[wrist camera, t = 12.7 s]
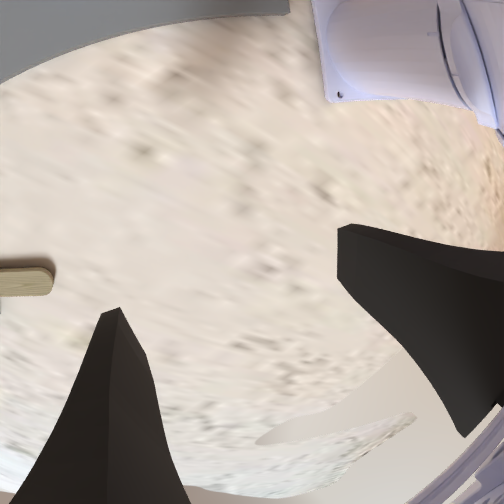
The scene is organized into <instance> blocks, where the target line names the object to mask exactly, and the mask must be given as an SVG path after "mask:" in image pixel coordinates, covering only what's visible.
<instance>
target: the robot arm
mask: <svg viewBox="0 0 504 504" xmlns="http://www.w3.org/2000/svg"><path fill="white" fill-rule="evenodd" d="M311 3H312V9H313V14H314V20H315V26H316V32H317V39H318V45H319V52H320V59H321V67H322V75H323V83H324V92H325V98H326V99H327V101H329V102H334V103H335V102H347V101H362V100H384V99H413V100H420V101H426V102H432V103H437V104H443V105H448V106H453V107H457V108H462V109H466V110H471V111H474V113H475V115H476V118H477V121H478V124H480V125H484V126H487V127H490V128H494V129H495V132H496V136H497V138H498V140H499V142H500V143H501V144H502V146H503V147H504V0H311ZM338 92H339V93H340V96H339V98H338V96H337V93H338ZM337 279H338V280H339V281H340V282H341V284H342V285H343V286H344V288H345V289H346V290H347V291H348V293H349V294H350V295H351V296H352V297H353V299H354V300H355V301H356V302H357V303H358V304H359V305H361V306H362V307H363V308H364V309H365V310H366V311H367V312H368V313H369V314H370V315H371V316H372V317H373V318H374V319H375V320H376V321H377V322H379V323H380V324H381V325H382V326H383V327H384V328H385V329H386V330H387V331H388V332H389V333H390V334H391V335H392V336H393V337H394V338H395V339H396V340H397V341H398V342H399V343H400V344H401V345H402V346H403V347H404V348H405V350H406V351H407V352H408V353H409V355H410V356H411V357H412V358H413V359H414V361H415V362H416V363H417V365H418V366H419V367H420V368H421V370H422V371H423V373H424V374H425V376H426V377H427V378H428V380H429V381H430V383H431V384H432V386H433V387H434V389H435V390H436V392H437V394H438V395H439V397H440V399H441V400H442V402H443V404H444V405H445V407H446V409H447V411H448V413H449V415H450V417H451V419H452V420H453V423H454V425H455V427H456V429H457V431H458V432H459V433H460V434H461V435H462V436H463V437H464V438H465V437H467V435H468V434H469V433H471V431H472V430H473V429H474V428H475V427H476V426H477V425H478V424H479V423H480V422H481V421H482V420H483V419H484V418H485V417H486V415H487V414H488V413H489V412H490V411H491V410H492V409H493V407H494V406H495V405H496V404H497V403H498V404H499V405H500V406H501V407H502V409H501V410H500V411H499V413H498V414H497V415H496V416H495V418H494V419H493V420H492V421H491V422H490V424H489V425H488V426H487V427H486V428H485V429H484V431H483V432H482V433H481V434H480V435H479V436H478V437H477V438H476V440H475V441H474V442H473V443H472V444H471V445H470V446H469V447H468V448H467V449H466V450H465V451H464V453H462V454H461V455H460V457H458V458H457V459H456V460H455V461H454V462H453V463H452V464H451V465H450V466H449V467H448V468H447V469H446V470H445V471H444V472H442V473H441V475H439V476H438V477H437V478H436V479H435V480H434V481H432V482H431V483H430V484H429V485H428V486H426V487H425V488H424V489H423V490H422V491H420V492H419V493H418V494H417V495H415V496H414V497H413V498H412V499H410V500H409V501H408V502H406V503H405V504H442V503H443V502H444V501H445V500H446V499H447V498H449V497H450V496H451V495H452V494H453V493H454V492H455V491H456V490H457V489H458V488H459V487H460V486H461V485H462V484H463V483H464V482H465V481H466V480H467V479H468V478H469V477H470V476H471V475H472V474H473V473H474V472H475V471H476V470H477V469H478V468H479V469H478V470H477V472H476V474H475V478H476V479H477V480H476V481H475V482H474V483H473V484H472V485H471V486H470V487H468V488H467V490H465V491H464V492H463V493H462V494H461V495H460V496H459V497H458V498H456V499H455V500H454V501H453V502H452V503H451V504H504V442H502V443H501V444H500V445H499V446H498V447H497V445H498V444H499V443H500V442H501V440H502V439H503V438H504V252H499V251H486V250H476V249H469V248H462V247H456V246H450V245H445V244H440V243H436V242H431V241H427V240H423V239H419V238H414V237H410V236H407V235H403V234H399V233H395V232H391V231H387V230H383V229H378V228H374V227H370V226H365V225H359V224H349V225H346V226H344V227H341V228H338V253H337ZM496 447H497V448H496ZM495 448H496V449H495ZM494 449H495V450H494ZM493 450H494V451H493ZM480 465H481V466H480ZM479 466H480V467H479ZM9 504H191V503H190V501H189V498H188V496H187V494H186V492H185V490H184V488H183V485H182V483H181V481H180V478H179V476H178V473H177V471H176V468H175V466H174V463H173V461H172V458H171V455H170V452H169V448H168V445H167V441H166V437H165V433H164V428H163V424H162V419H161V414H160V410H159V405H158V400H157V395H156V390H155V385H154V381H153V377H152V374H151V370H150V367H149V364H148V360H147V357H146V354H145V352H144V350H143V349H142V347H141V345H140V343H139V342H138V340H137V338H136V336H135V334H134V333H133V331H132V329H131V327H130V325H129V323H128V322H127V320H126V318H125V316H124V314H123V312H122V310H121V308H120V307H119V308H116V309H113V310H110V311H107V312H104V313H102V314H101V316H100V318H99V320H98V323H97V325H96V328H95V330H94V333H93V336H92V338H91V341H90V343H89V346H88V349H87V351H86V354H85V357H84V359H83V362H82V364H81V367H80V370H79V372H78V375H77V377H76V380H75V382H74V384H73V387H72V389H71V392H70V394H69V397H68V399H67V401H66V404H65V406H64V408H63V410H62V412H61V415H60V417H59V419H58V421H57V423H56V425H55V427H54V429H53V431H52V433H51V435H50V437H49V439H48V441H47V442H46V444H45V446H44V448H43V450H42V451H41V453H40V455H39V457H38V459H37V461H36V462H35V464H34V466H33V468H32V469H31V471H30V472H29V474H28V476H27V477H26V479H25V481H24V482H23V484H22V485H21V487H20V488H19V490H18V491H17V493H16V494H15V496H14V497H13V499H12V500H11V502H10V503H9Z"/></svg>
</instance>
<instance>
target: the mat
mask: <svg viewBox="0 0 504 504" xmlns="http://www.w3.org/2000/svg"><path fill="white" fill-rule="evenodd" d="M288 13H290V8H289V2H288V0H0V84H1V83H3V82H5V81H7V80H8V79H10V78H12V77H14V76H16V75H18V74H20V73H22V72H24V71H26V70H28V69H30V68H33V67H35V66H37V65H39V64H41V63H44V62H46V61H48V60H51V59H53V58H55V57H58V56H60V55H63V54H65V53H68V52H71V51H73V50H76V49H79V48H82V47H85V46H88V45H91V44H94V43H97V42H100V41H103V40H106V39H110V38H113V37H117V36H120V35H124V34H128V33H132V32H136V31H140V30H145V29H149V28H154V27H159V26H164V25H169V24H175V23H181V22H188V21H195V20H203V19H212V18H222V17H236V16H258V15H286V14H288Z"/></svg>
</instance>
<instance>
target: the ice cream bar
mask: <svg viewBox="0 0 504 504" xmlns="http://www.w3.org/2000/svg"><path fill="white" fill-rule="evenodd" d="M53 284H54V279H53V276H52V274H51V273H50V272H49V271H48V270H47V269H45V268H41V267H33V268H9V269H0V297H11V296H43V295H47V294H49V293H50V292H51V290H52V287H53Z"/></svg>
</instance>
